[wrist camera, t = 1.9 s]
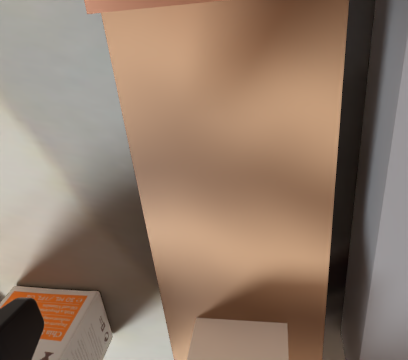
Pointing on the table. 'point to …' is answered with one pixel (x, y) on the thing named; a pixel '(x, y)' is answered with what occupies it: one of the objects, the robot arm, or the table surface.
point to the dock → (381, 201)
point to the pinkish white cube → (238, 340)
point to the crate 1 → (133, 4)
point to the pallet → (235, 156)
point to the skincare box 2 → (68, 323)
